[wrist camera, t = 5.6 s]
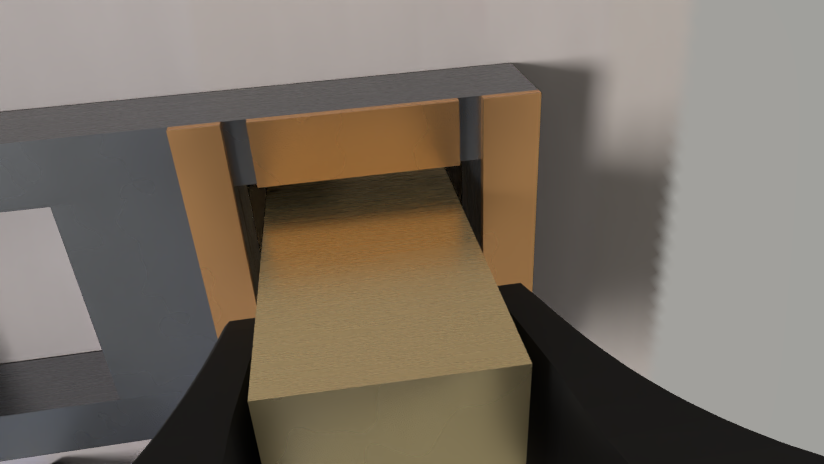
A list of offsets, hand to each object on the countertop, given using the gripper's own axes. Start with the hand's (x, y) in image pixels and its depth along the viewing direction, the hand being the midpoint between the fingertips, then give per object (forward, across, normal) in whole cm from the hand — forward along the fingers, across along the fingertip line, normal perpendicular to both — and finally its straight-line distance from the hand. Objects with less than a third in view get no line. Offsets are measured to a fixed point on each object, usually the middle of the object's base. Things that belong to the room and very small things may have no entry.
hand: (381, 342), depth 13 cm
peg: (+5, 0, 0) cm, 5 cm away
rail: (+4, +4, 0) cm, 6 cm away
